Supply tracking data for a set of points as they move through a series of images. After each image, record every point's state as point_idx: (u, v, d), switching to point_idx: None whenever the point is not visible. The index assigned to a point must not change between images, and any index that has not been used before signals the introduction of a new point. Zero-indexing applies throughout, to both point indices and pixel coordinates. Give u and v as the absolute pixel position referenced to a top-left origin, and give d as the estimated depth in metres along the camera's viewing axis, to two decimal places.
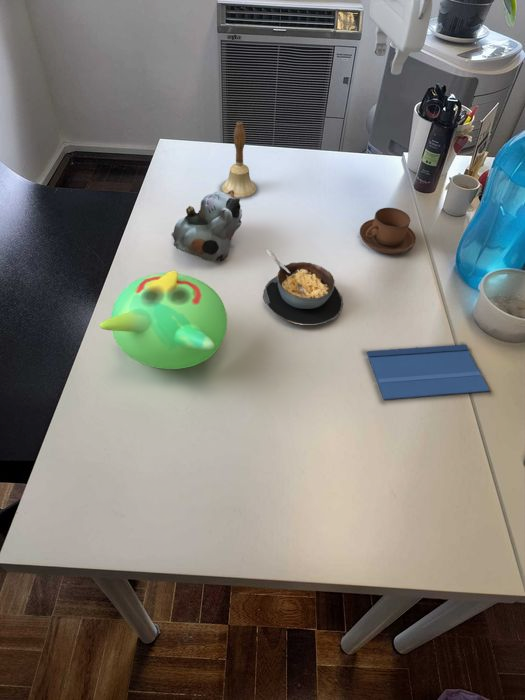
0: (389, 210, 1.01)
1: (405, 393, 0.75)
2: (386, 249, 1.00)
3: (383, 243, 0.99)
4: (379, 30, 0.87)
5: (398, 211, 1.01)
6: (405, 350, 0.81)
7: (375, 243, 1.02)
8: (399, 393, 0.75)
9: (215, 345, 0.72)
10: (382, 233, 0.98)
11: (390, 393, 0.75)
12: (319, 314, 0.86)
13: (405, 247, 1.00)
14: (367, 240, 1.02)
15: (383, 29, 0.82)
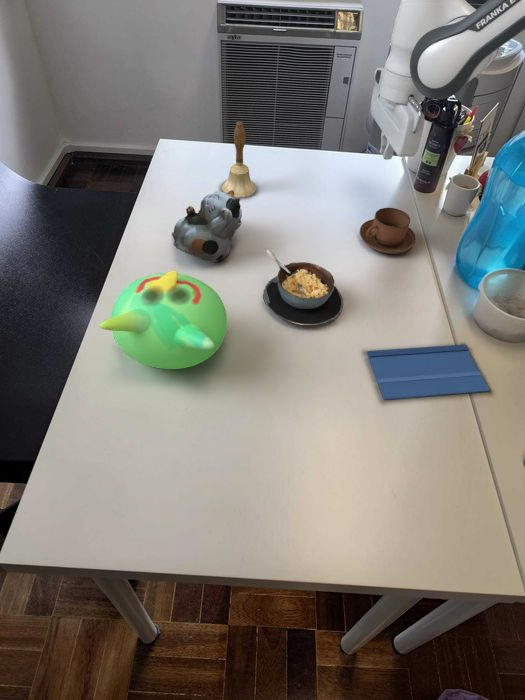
0: (389, 210, 1.01)
1: (405, 393, 0.75)
2: (386, 249, 1.00)
3: (383, 243, 0.99)
4: (384, 135, 0.97)
5: (398, 211, 1.01)
6: (405, 350, 0.81)
7: (375, 243, 1.02)
8: (399, 393, 0.75)
9: (215, 345, 0.72)
10: (382, 233, 0.98)
11: (390, 393, 0.75)
12: (319, 314, 0.86)
13: (405, 247, 1.01)
14: (367, 240, 1.02)
15: (382, 130, 0.95)
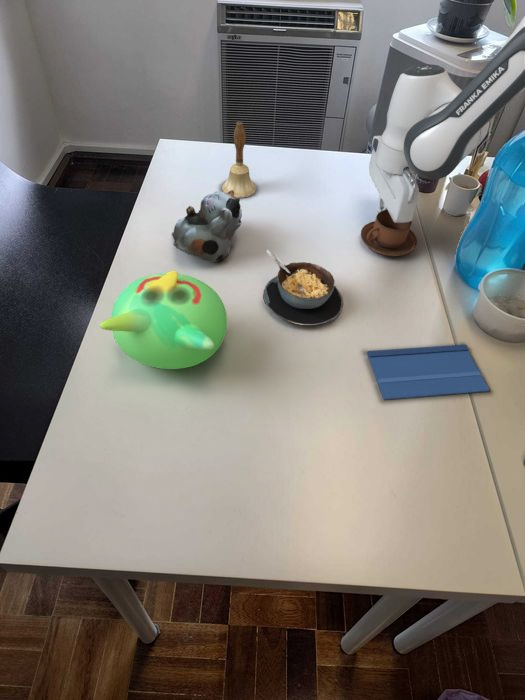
0: None
1: (405, 393, 0.75)
2: (387, 251, 1.00)
3: (384, 245, 0.99)
4: (382, 198, 1.02)
5: None
6: (405, 350, 0.81)
7: (376, 245, 1.01)
8: (399, 393, 0.75)
9: (215, 345, 0.72)
10: (383, 236, 0.97)
11: (390, 393, 0.75)
12: (319, 314, 0.86)
13: (406, 250, 1.00)
14: (368, 242, 1.01)
15: (380, 194, 1.00)
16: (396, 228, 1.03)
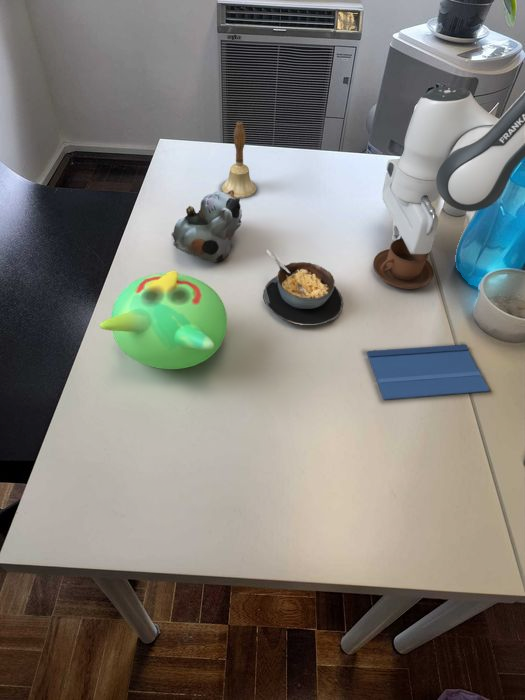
0: None
1: (405, 393, 0.75)
2: (402, 283, 0.93)
3: (399, 277, 0.92)
4: None
5: None
6: (405, 350, 0.81)
7: (390, 276, 0.94)
8: (399, 393, 0.75)
9: (215, 345, 0.72)
10: (398, 267, 0.91)
11: (390, 393, 0.75)
12: (319, 314, 0.86)
13: (422, 281, 0.93)
14: (381, 273, 0.95)
15: (394, 221, 0.93)
16: (411, 257, 0.96)
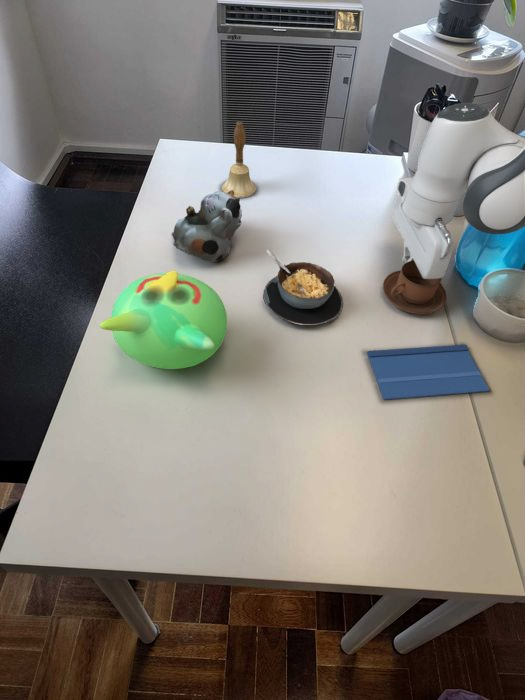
0: None
1: (405, 393, 0.75)
2: (413, 308, 0.89)
3: (410, 301, 0.88)
4: None
5: None
6: (405, 350, 0.81)
7: (400, 300, 0.90)
8: (399, 393, 0.75)
9: (215, 345, 0.72)
10: (410, 292, 0.86)
11: (390, 393, 0.75)
12: (319, 314, 0.86)
13: (434, 305, 0.89)
14: (391, 297, 0.90)
15: (405, 242, 0.89)
16: (422, 280, 0.91)
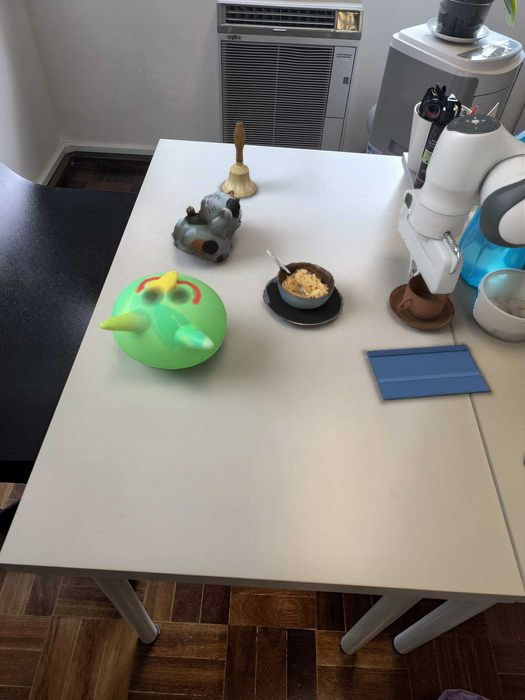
0: None
1: (405, 393, 0.75)
2: (421, 323, 0.86)
3: (417, 316, 0.85)
4: None
5: None
6: (405, 350, 0.81)
7: (407, 315, 0.87)
8: (399, 393, 0.75)
9: (215, 345, 0.72)
10: (417, 307, 0.84)
11: (390, 393, 0.75)
12: (319, 314, 0.86)
13: (442, 320, 0.86)
14: (398, 311, 0.87)
15: (412, 256, 0.86)
16: (429, 293, 0.89)
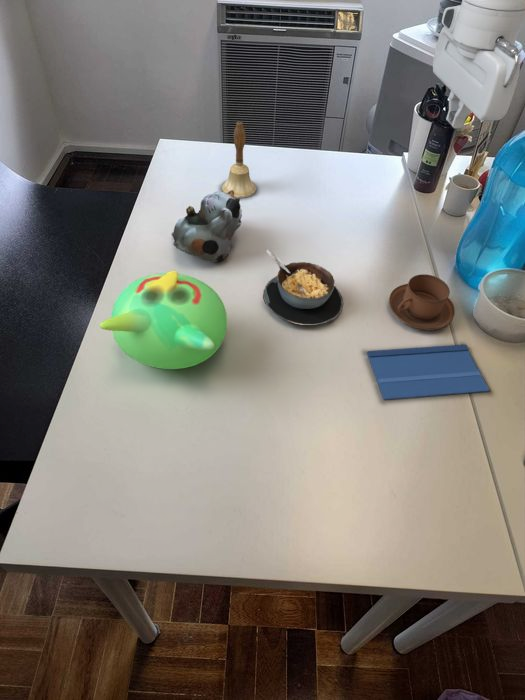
0: (423, 277, 0.87)
1: (405, 393, 0.75)
2: (421, 323, 0.86)
3: (418, 317, 0.85)
4: (454, 97, 0.76)
5: (433, 278, 0.87)
6: (405, 350, 0.81)
7: (407, 315, 0.87)
8: (399, 393, 0.75)
9: (215, 345, 0.72)
10: (417, 307, 0.84)
11: (390, 393, 0.75)
12: (319, 314, 0.86)
13: (442, 320, 0.86)
14: (398, 312, 0.87)
15: (453, 89, 0.74)
16: (429, 294, 0.89)
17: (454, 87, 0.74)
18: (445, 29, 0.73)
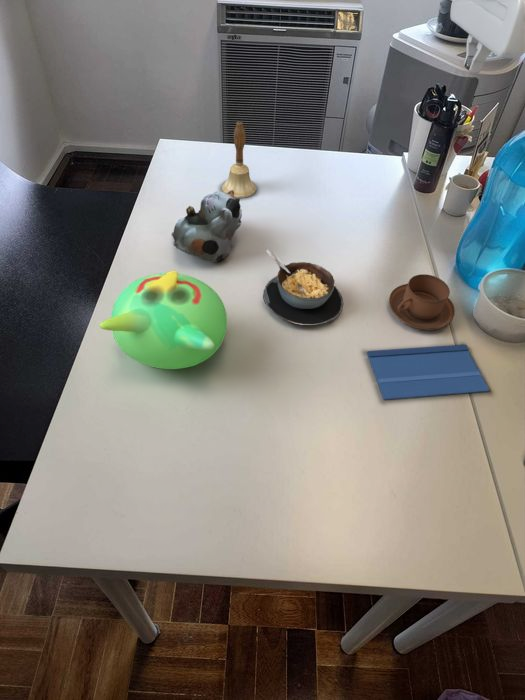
0: (423, 277, 0.87)
1: (405, 393, 0.75)
2: (421, 323, 0.86)
3: (418, 317, 0.85)
4: (472, 41, 0.76)
5: (433, 278, 0.87)
6: (405, 350, 0.81)
7: (407, 315, 0.87)
8: (399, 393, 0.75)
9: (215, 345, 0.72)
10: (417, 307, 0.84)
11: (390, 393, 0.75)
12: (319, 314, 0.86)
13: (442, 320, 0.86)
14: (398, 312, 0.87)
15: (471, 32, 0.74)
16: (429, 294, 0.89)
17: (473, 29, 0.74)
18: None
